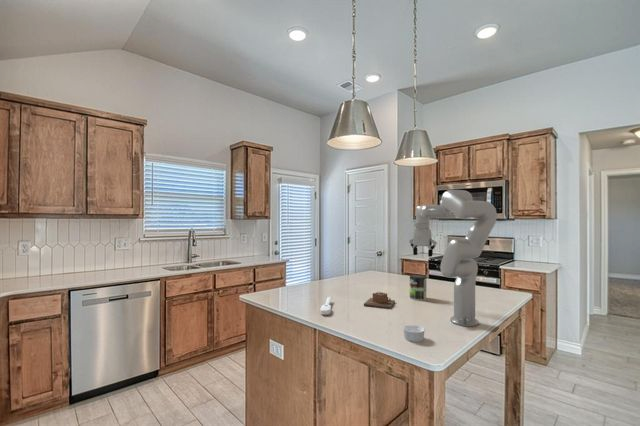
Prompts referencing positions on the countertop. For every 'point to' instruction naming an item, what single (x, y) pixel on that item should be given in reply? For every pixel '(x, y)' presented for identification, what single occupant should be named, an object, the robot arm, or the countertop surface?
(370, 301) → the post board
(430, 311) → the countertop surface
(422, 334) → the ramekin
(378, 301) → the square wooden collar
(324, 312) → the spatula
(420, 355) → the countertop surface
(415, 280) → the coffee can
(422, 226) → the robot arm
